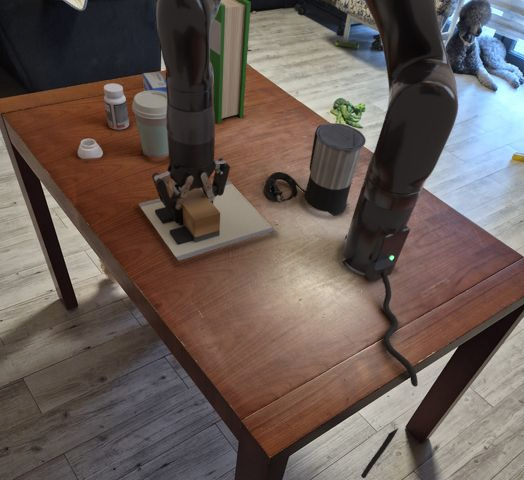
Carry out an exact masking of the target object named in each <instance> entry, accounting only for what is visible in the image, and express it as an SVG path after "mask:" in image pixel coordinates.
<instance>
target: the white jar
mask: <svg viewBox="0 0 524 480" xmlns="http://www.w3.org/2000/svg"><path fill="white" fill-rule="evenodd" d="M103 155H104V152H103V149H102V148H101V146H100V144H98V143H97V141H96V140H95V139H93V138H84V139H81V141H80V143H79V146H78V149H77V156H78V157H79V158H80V159H82V160H83V159H85V160H86V159H99V158H102V157H103Z"/></svg>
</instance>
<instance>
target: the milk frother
mask: <svg viewBox="0 0 524 480" xmlns="http://www.w3.org/2000/svg"><path fill="white" fill-rule="evenodd" d="M313 136H314V137H313V142H312V149H311V154H310V155H311V156H310V160H309V161H310V162H309V171H310V172H309V177H308V181H307V185H306V189H304V188H302V187H301V185H300V184H299V183H298V182H297V180H295V179H294V178H293V177H292V176H291V175H289V174H288V173H287V172H282V171H277V172H276V171H275V172H274V173H271V174H270V175H269V176H268V178H266V180H265V183H264V186H263V192H264V195H265V197H266V198H267V199H268V200H269V201H271V202H275V203H283V202H286V201H290V200H292V199H296V197H297V196H298V189H299V190H300V191H301V192H302V193H303V194H304V200H305V202H306V203H307V204H308V205H309V206H310V207H312V208H313V209H315V210H318V211H321V212H325V213H328V214H329V215H332V217H336V216H340V215H341V214H344V212H345V211H346V209H347V202H348V198H349V195H350V190H351V187H352V183H353V180H354V177H355V174H356V170H357V167H358V164H359V160H360V157H361V155H362V150H363V147H364V146H365V145H366V141H367V140H366V139H367V138H366V137H365V135H364V134H363V132H361V130H358V129H357V128H355V127H353V126H351V125H348V124H344V123H341V122H339V123H338V122H337V123H334V122H330V123H325V124H320V125H318V126H317V127H316V129H315V132H314V135H313ZM279 180H280V181H284V182H286V183H287V184H288V185H289V186H290V190H291V193H290V195H289V196H288V197H286V198H281V197H282V195H283V193H284V192H283V191H282V190H281V189H280V186H279V185H278V184H277V181H279Z"/></svg>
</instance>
